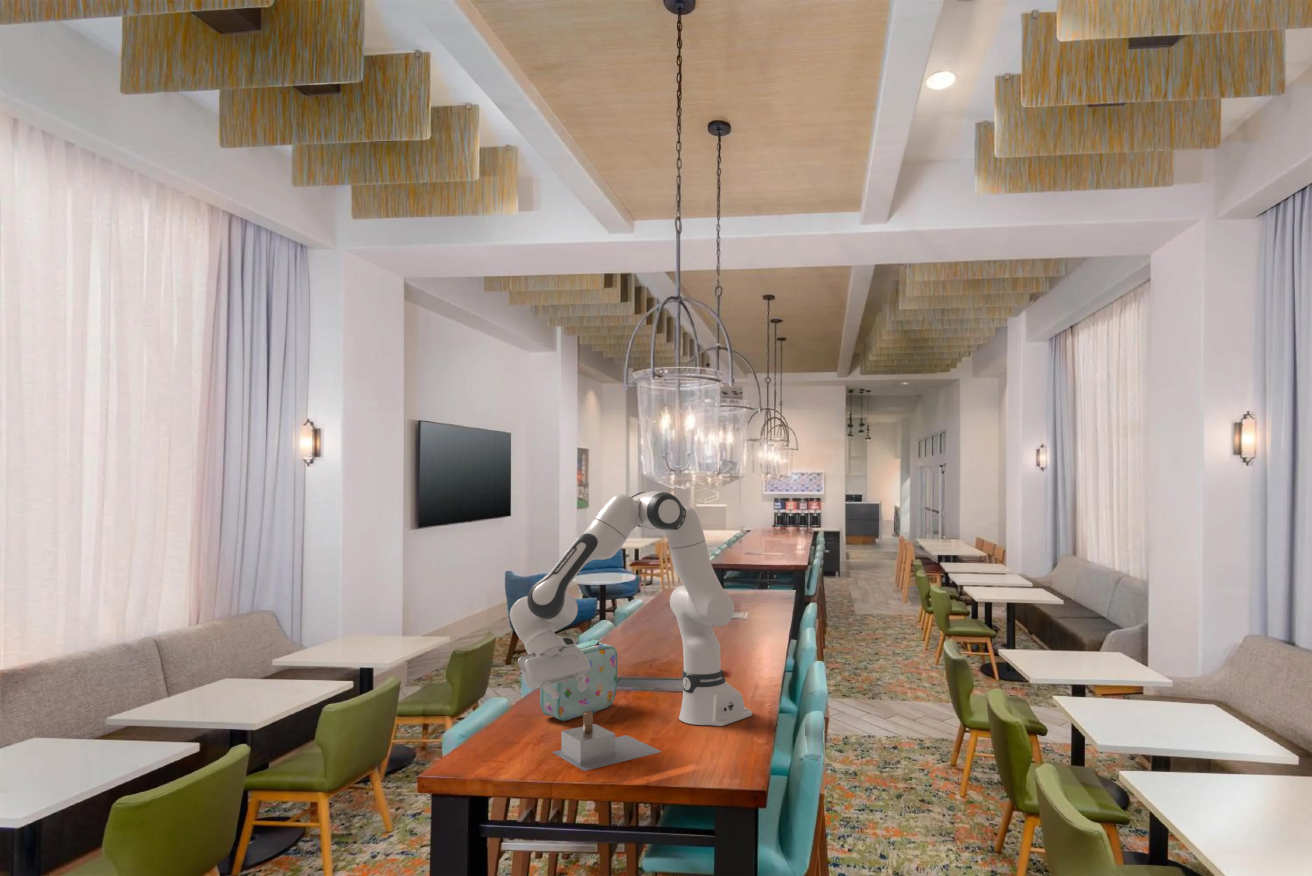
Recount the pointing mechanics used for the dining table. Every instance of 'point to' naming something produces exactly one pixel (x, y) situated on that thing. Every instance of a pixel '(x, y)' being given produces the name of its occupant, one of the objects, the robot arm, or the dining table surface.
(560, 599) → the robot arm
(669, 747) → the dining table surface
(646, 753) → the tray
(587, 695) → the lunch box
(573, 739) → the steel cover
